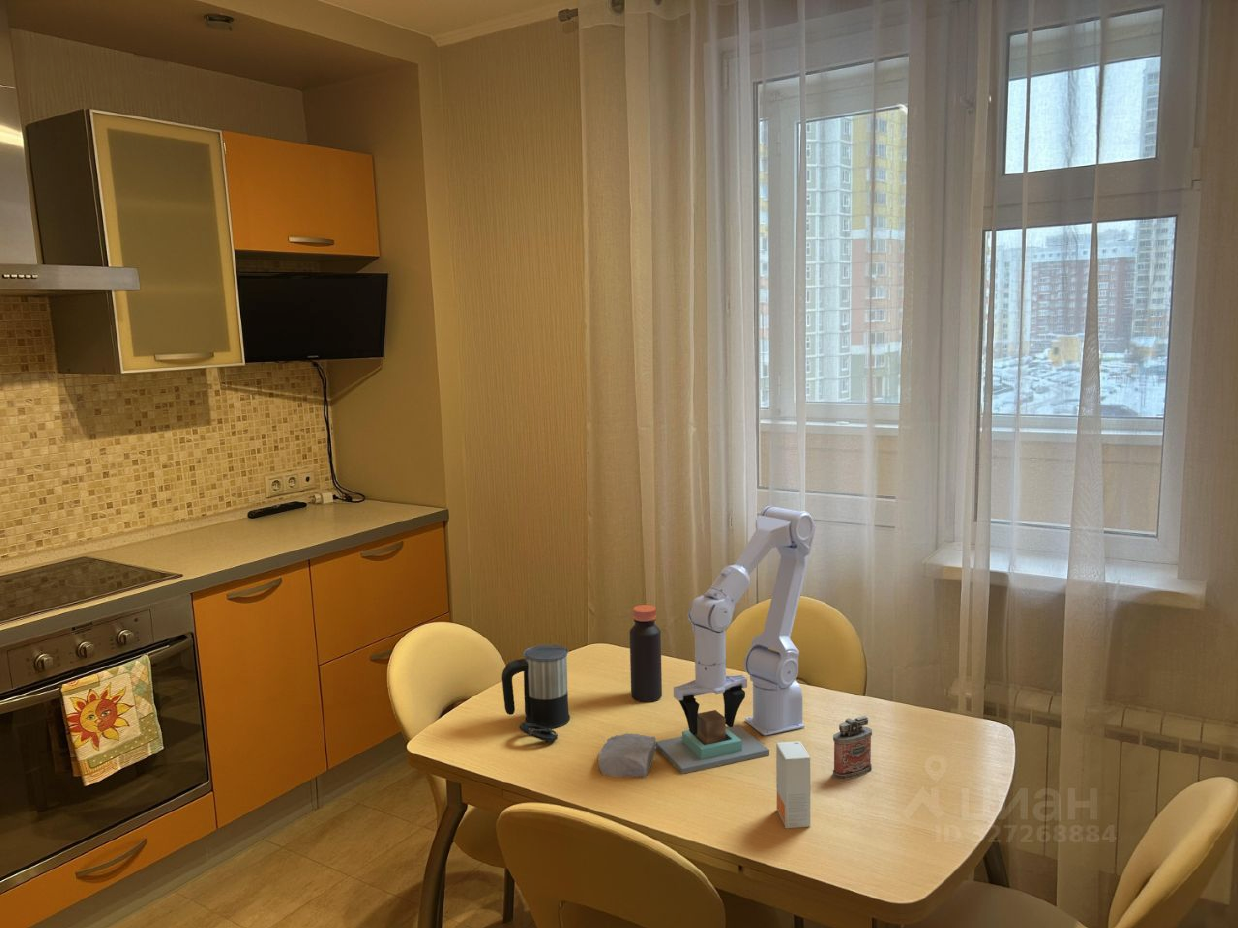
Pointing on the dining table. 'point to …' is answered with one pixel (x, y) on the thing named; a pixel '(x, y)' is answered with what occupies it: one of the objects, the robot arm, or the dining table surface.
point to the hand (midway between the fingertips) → (711, 728)
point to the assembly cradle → (710, 750)
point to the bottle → (645, 655)
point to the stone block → (627, 755)
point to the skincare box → (793, 784)
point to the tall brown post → (711, 727)
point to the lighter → (852, 749)
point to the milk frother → (540, 690)
